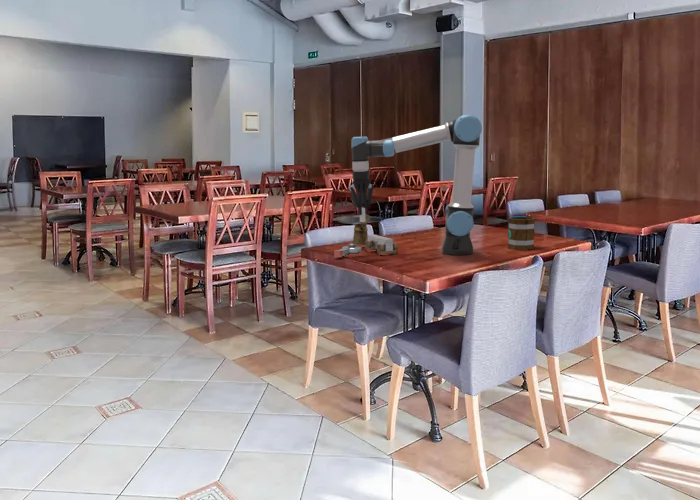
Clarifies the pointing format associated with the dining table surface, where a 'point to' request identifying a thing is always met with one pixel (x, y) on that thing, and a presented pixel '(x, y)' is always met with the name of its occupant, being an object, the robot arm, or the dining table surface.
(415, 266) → the dining table surface
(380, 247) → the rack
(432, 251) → the dining table surface
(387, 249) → the steel bar
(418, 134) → the robot arm
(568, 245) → the dining table surface
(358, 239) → the bronze figurine
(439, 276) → the dining table surface
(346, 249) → the silver lever handle
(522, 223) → the mug
